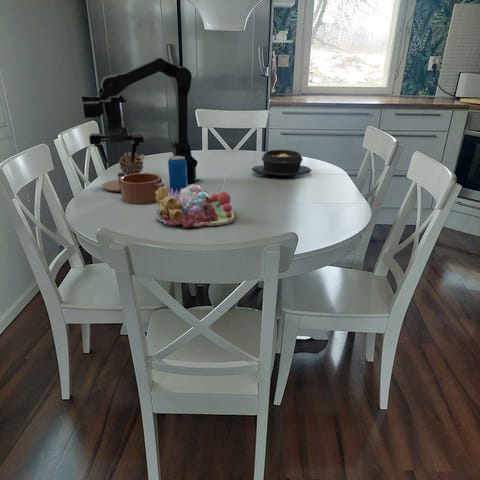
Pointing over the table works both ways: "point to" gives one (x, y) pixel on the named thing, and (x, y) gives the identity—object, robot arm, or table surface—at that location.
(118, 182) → the pot lid
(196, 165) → the robot arm
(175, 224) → the candy landscape model
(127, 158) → the pine cone
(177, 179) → the beverage can
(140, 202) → the pot
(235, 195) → the table surface
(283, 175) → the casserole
